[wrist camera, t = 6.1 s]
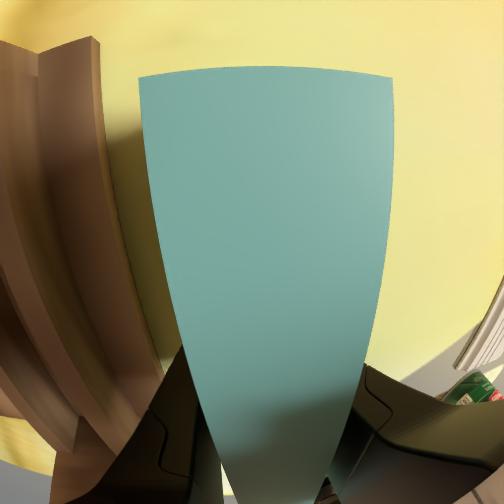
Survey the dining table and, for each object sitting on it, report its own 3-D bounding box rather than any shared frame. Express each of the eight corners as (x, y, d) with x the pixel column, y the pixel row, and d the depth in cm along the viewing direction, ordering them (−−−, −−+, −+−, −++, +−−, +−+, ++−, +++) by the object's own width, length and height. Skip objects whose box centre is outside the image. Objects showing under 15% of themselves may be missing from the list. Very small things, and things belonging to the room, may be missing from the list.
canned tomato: (487, 361, 27) (535, 413, 17) (462, 400, 30) (501, 450, 20) (451, 381, 25) (503, 446, 15) (425, 421, 28) (465, 480, 19)
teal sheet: (234, 111, 10) (393, 78, 2) (253, 361, 15) (306, 518, 7) (179, 117, 10) (137, 77, 2) (216, 367, 15) (250, 531, 7)
